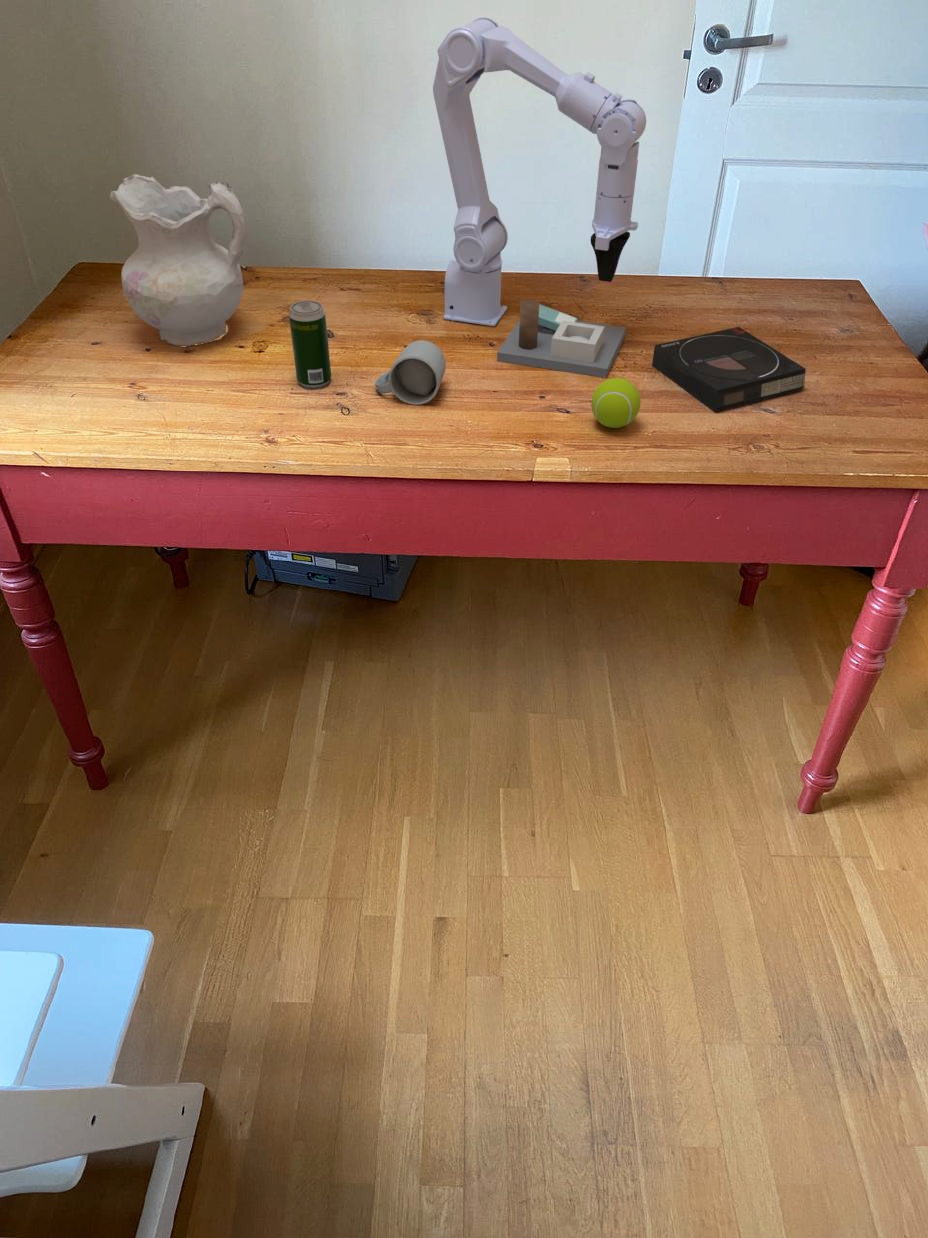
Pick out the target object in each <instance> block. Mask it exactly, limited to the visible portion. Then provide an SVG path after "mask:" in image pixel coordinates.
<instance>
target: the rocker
mask: <svg viewBox="0 0 928 1238" xmlns="http://www.w3.org/2000/svg"><path fill="white" fill-rule="evenodd" d="M562 321H569V322H576V323H577V321H579V318H577V317H575V316H572V315H569V314H566V313H565V312H561V311H559V310H556V309H553V308H551V307H548V306H545V305H544V304H540V303H539V320H538V324H539V325H542V326H544V327H547V328H550V329H553V330H555V331H557V329H558V327H559V325H560V324H561V322H562Z"/></svg>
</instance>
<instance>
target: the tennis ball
mask: <svg viewBox="0 0 928 1238" xmlns="http://www.w3.org/2000/svg"><path fill="white" fill-rule="evenodd" d="M590 403H591V404H590V405H591V410H592V414H593V417H594V418H595V419H596V420H597V422H598V423H600V425H603V426H605V427H607V428H612V429H620V428H624V427H626V426H627V425H630V424H631V423H633V421H634V420H635V419H636V418H637V416H638V414H639V412H640V410H641V403H642V401H641V395H640V393H639V391H638V389H637V386H635V385H634V384H633V382H631V381H629V380H628V379H626V378H621V377H613V378H609V379H606V380H604V381H603V382H602V383H600V384H599V385H598V386H597V387H596V389H594V392H593V394H592V396H591V402H590Z"/></svg>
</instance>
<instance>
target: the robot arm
mask: <svg viewBox="0 0 928 1238" xmlns="http://www.w3.org/2000/svg"><path fill="white" fill-rule="evenodd" d="M437 55H438V61H437V66H436V70H435V71H436V72H435V76H434V80H433V84H432V93H433V99H434V103H435V108H436V113H437V118H438V122H439V126H440V131H441V132H440V133H441V137H442V141H443V145H444V149H445V155H446V160H447V164H448V169H449V174H450V178H451V183H452V188H453V193H454V197H455V203H456V207H457V212H456V216H455V220H454V224H453V231H454V244H453V248H452V249H453V256H454V258H455V260H450V262H449V263H448V265H447V267H446V271H445V276H444V315H443V319H444V320H447V321H455V322H463V323H470V324H474V325H475V324H477V325H484V326H490V327H495V326H496V325H497V323H499V321H500V320H501V318H502V317H503V316H504V314H505V313H506V312H507V310H508V306H507V305H501V297H502V296H501V295H502V294H501V293H502V292H501V291H502V268H503V266H502V264H503V261H502V257H501V255H502V254H501V253H502V252H503V250H504V249H505V248H506V246H507V243H508V239H509V235H508V234H509V233H508V230H507V227H506V226H505V224H504V223H503V221H502V220H501V218H500V217H501V216H500V215H499V209H498V208H497V206H496V205H495V204H494V203H493V202H492V201H491V200H490V196H489V191H488V186H487V181H486V176H485V170H484V163H483V159H482V154H481V149H480V144H479V138H478V133H477V128H476V123H475V118H474V117H475V116H474V114H473V109H472V108H473V107H472V103H471V99H470V97H471V96H470V95H471V93H472V90H473V89H474V88H475V86H476V84H477V83H478V81H479V80H480V78H481V76H482V75H483V74H484V73H495V72H501V71H502V72H503V71H510V72H512V73H513V74H515V75H516V76H519V77H520V78H522V79H524V80H525V81H527V82H528V83H530V84H532V85H534V86H535V87H537V88H539V89H541V90H542V91H544V92H546V93H547V94H549V95H551V96H552V97H554V98H555V101H556V106H557V109H558V111H559V112H560V113H561V114H563V115H564V116H566V117H568V118H569V119H570V120H572V121H574V122H575V123H576V124H578V125H580V126H582V127H583V128H584V129H586V130H587V131H589V132H590V133H591V134H594V135H596V137H597V141H598V143H599V145H600V147H601V148H600V156H599V157H600V158H599V162H598V172H597V173H598V174H597V183H596V184H597V185H596V193H595V194H596V195H595V202H594V203H595V205H594V212H593V213H594V214H593V215H594V216H593V218H592V221H591V227H592V229H593V230H592V231H594V233H592V235H591V236H590V244H591V246H592V249H593V252H594V255H595V261H596V267H597V269H596V270H597V277H598V281H599V282H600V281H601V282H607V283H608V282H609V283H611V282H612V281H613V279H614V277H615V274H616V271H617V268H618V265H619V261H620V258H621V255H622V252H623V250H624V247H625V246H626V244H627V242H628V241H629V238H630V237H631V233H630V232H629V231H635V232H636V230H637V229H638V228H639V223H638V222H637V221H632V213H633V205H634V196H635V189H636V188H635V187H636V181H637V180H636V179H637V171H638V170H637V169H638V162H639V160H638V158H639V147H640V141H638V140H640V138H641V137H642V136H643V134H644V132H645V130H646V126H647V116H646V115H647V114H646V112H645V110H644V109H643V107H642V106H641V105H640V104H639V103H638V102H637V101H636V100H635V99H632V98H626V99H625V98H624V99H622V98H623V96H622V95H621V94H620V93H618V92H616V93H612V92H611V91H610V90H608V89H606V88H605V87H603V86H602V85H600V84H599V83H598V82H596V81H595V79H596V76H595V75H594V74H593V73H591V72H590V71H589V72H586V73H585V74H584V73H582V72H581V71H578V72H574V73H572V74H567V73H566V72H564V71H563V70H562V69H560V68H559V67H558V66H557V65H555V64H554V63H553V62H551V60H549V59H548V58H546V57H544V56H543V55H542V54H541V53H539V52H538V51H537V50H535V48H533V47H531V46H530V45H529V44H527V43H526V42H524V40H523V39H521V38H519V36H517V35H516V34H515V33H514V32H513V31H512V30H511V29H510V28H509V27H506V26H504V25H499V24H498V22H497V21H496V20H494V19H493V18H490V17H487V16H482V17H478V18H475V19H474V20H473V21H472V22H469V23H467V24H464V25H462V26H457V27H455V28H453V29H451V30H449V32H448V33H447V34H446V35H445V38H443V40H442V42H441V43H440V44H439V46H438V48H437Z"/></svg>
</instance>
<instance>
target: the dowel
mask: <svg viewBox="0 0 928 1238" xmlns="http://www.w3.org/2000/svg"><path fill="white" fill-rule="evenodd" d="M539 304H540V302H539V301H538V300H533V299H525V300H522V301H521V302H520V305H519V306H520V307H519V308H520V309H519V319H520V326H519V347H520V348H522V349H527V350H530V349H534V348H536V347H537V336H538V320H539Z"/></svg>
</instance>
